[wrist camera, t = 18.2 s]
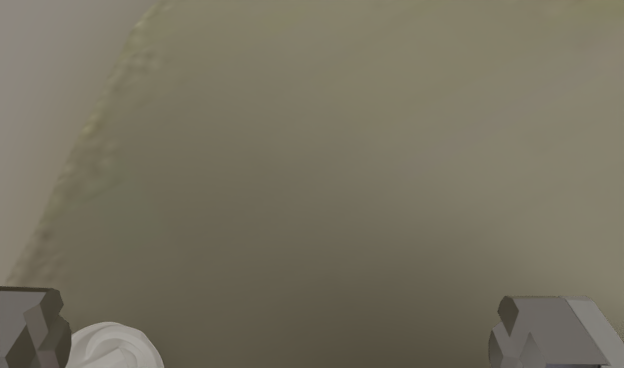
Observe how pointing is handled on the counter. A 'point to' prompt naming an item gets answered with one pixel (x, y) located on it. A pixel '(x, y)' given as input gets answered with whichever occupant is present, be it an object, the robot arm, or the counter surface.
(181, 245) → the counter surface
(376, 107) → the counter surface
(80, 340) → the white swirled ball
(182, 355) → the counter surface
